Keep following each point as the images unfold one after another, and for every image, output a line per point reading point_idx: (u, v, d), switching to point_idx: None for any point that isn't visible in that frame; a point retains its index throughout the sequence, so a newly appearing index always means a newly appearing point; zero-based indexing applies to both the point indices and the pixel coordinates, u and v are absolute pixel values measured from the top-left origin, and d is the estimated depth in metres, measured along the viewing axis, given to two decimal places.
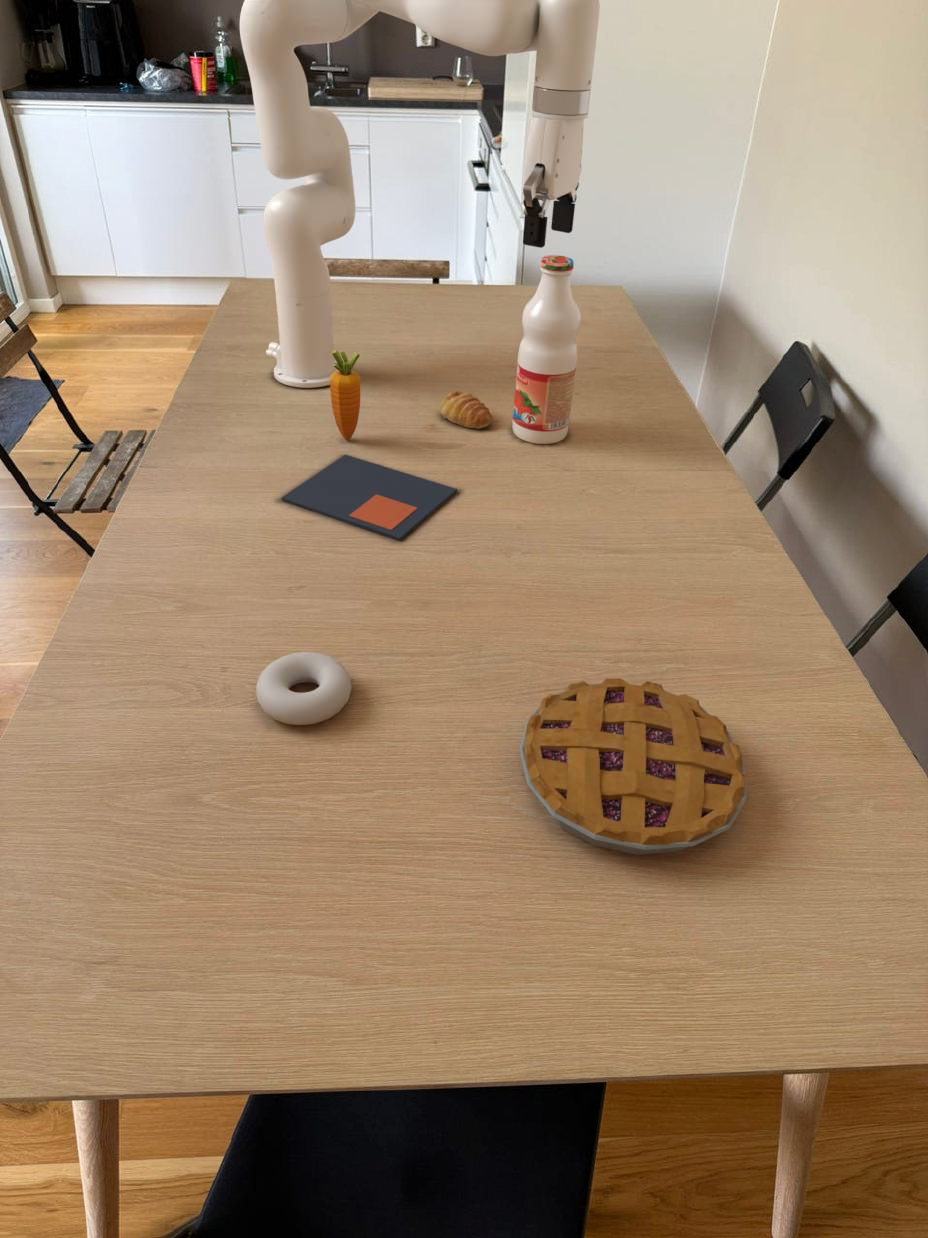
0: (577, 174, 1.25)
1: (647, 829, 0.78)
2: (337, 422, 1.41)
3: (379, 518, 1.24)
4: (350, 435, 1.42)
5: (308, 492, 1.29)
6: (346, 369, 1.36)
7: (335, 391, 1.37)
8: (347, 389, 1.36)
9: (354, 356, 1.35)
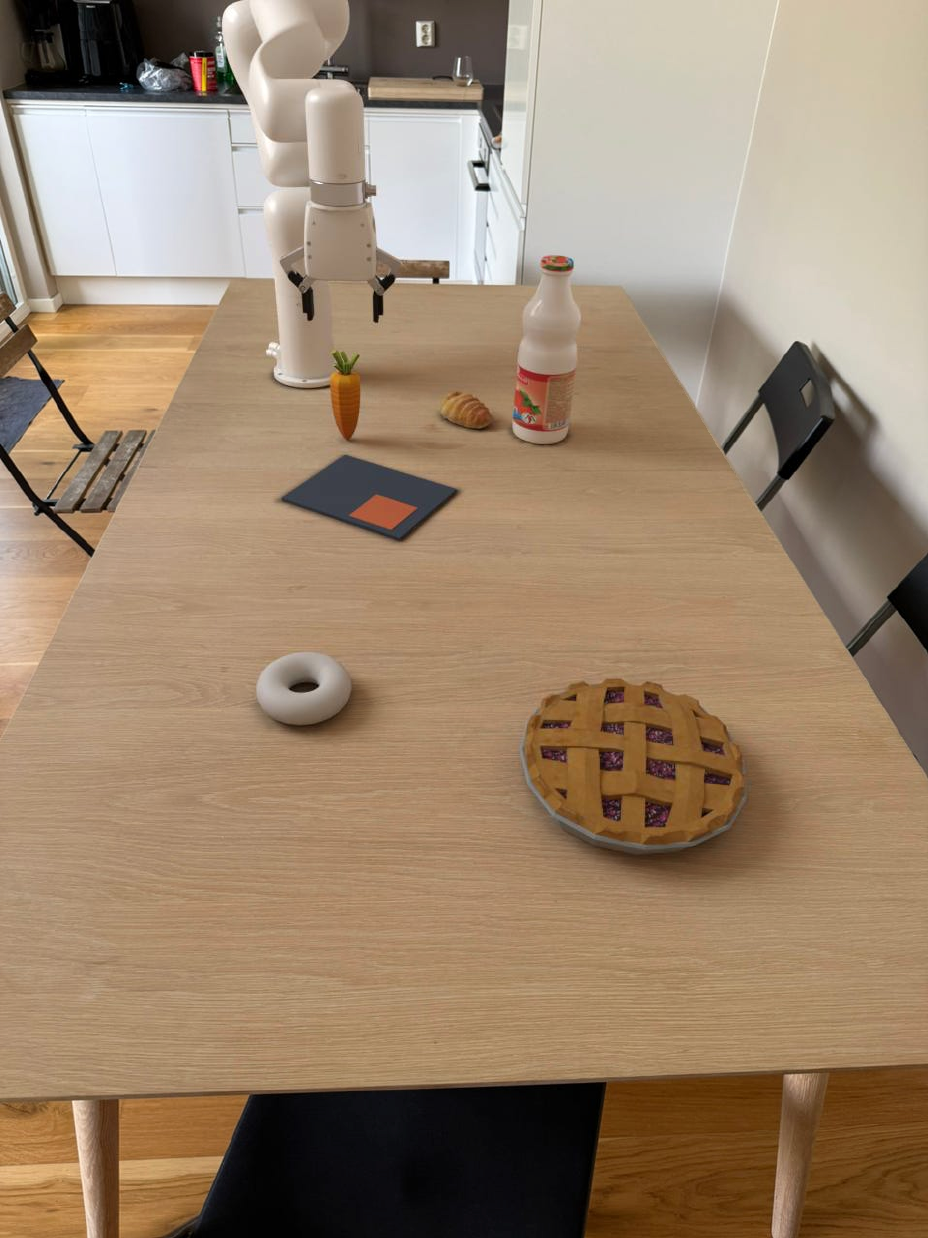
0: (363, 266, 1.25)
1: (647, 829, 0.78)
2: (337, 422, 1.41)
3: (379, 518, 1.24)
4: (350, 435, 1.42)
5: (308, 492, 1.29)
6: (346, 369, 1.36)
7: (334, 391, 1.37)
8: (347, 389, 1.36)
9: (354, 356, 1.35)
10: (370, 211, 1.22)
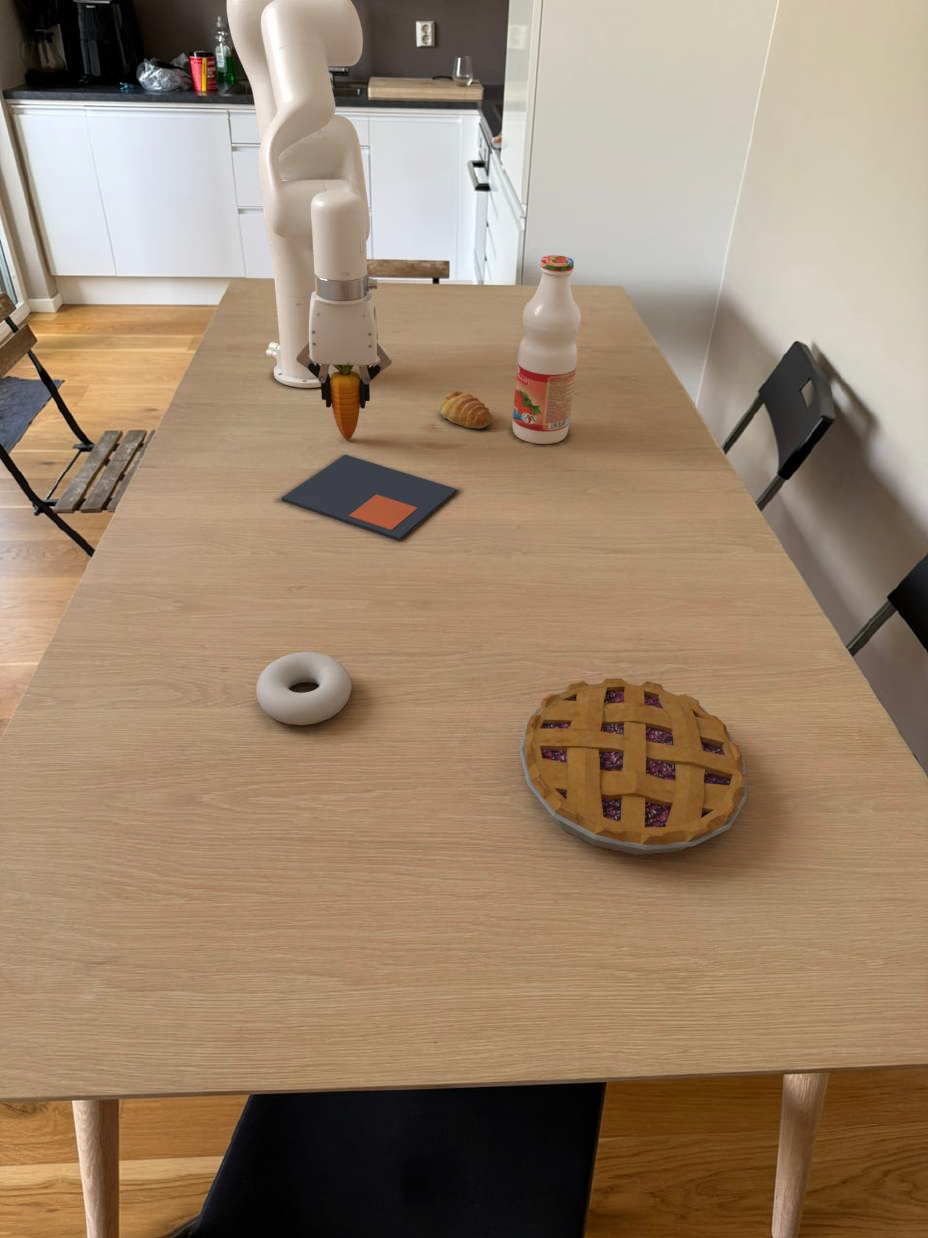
0: (364, 352, 1.33)
1: (647, 829, 0.78)
2: (337, 422, 1.41)
3: (379, 518, 1.24)
4: (350, 435, 1.42)
5: (308, 492, 1.29)
6: (346, 369, 1.36)
7: (334, 391, 1.37)
8: (347, 389, 1.36)
9: None
10: (371, 303, 1.30)
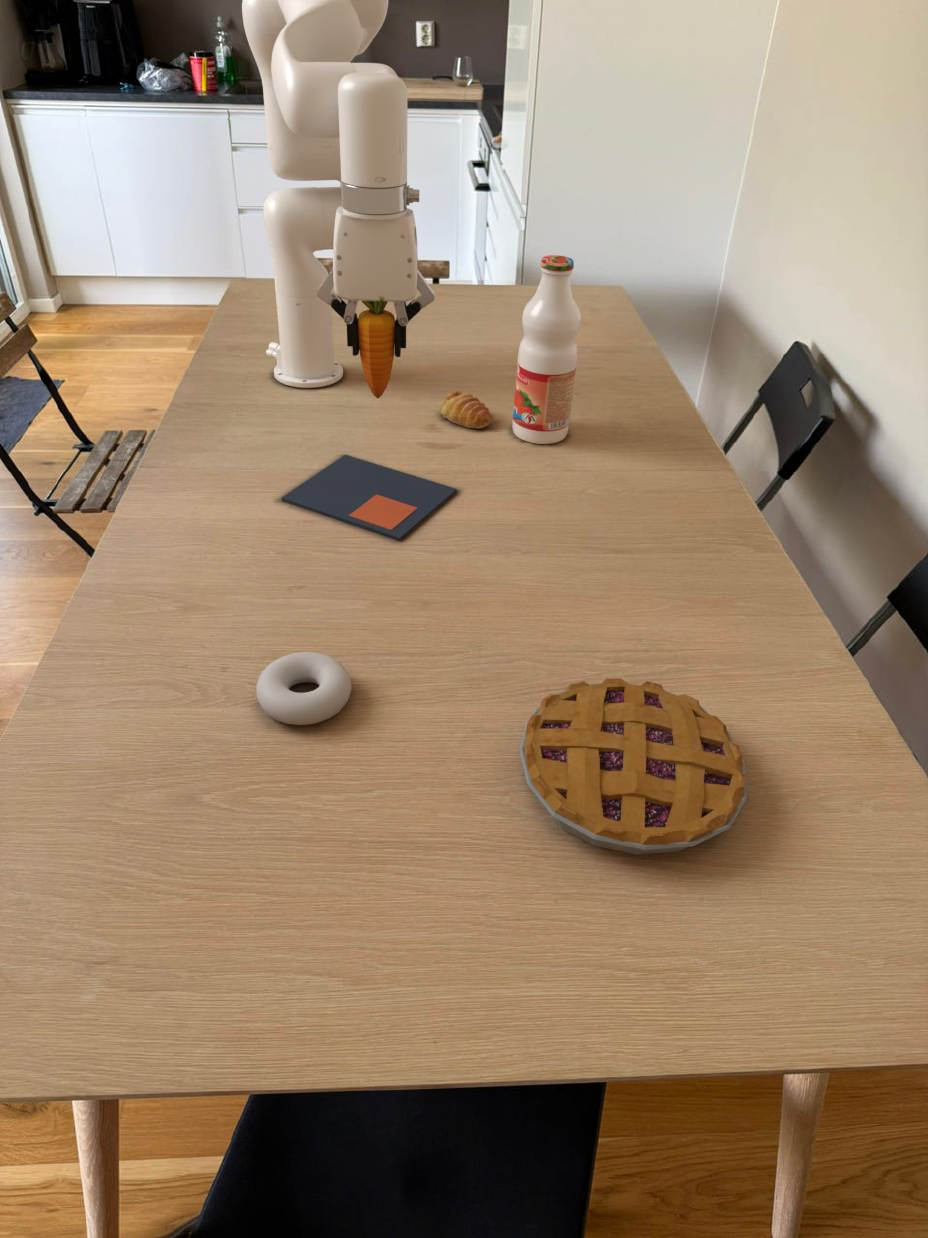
0: (402, 284, 1.06)
1: (647, 829, 0.78)
2: (366, 374, 1.14)
3: (379, 518, 1.24)
4: (381, 391, 1.16)
5: (308, 492, 1.29)
6: (378, 306, 1.09)
7: (364, 334, 1.10)
8: (379, 331, 1.10)
9: None
10: (412, 220, 1.03)
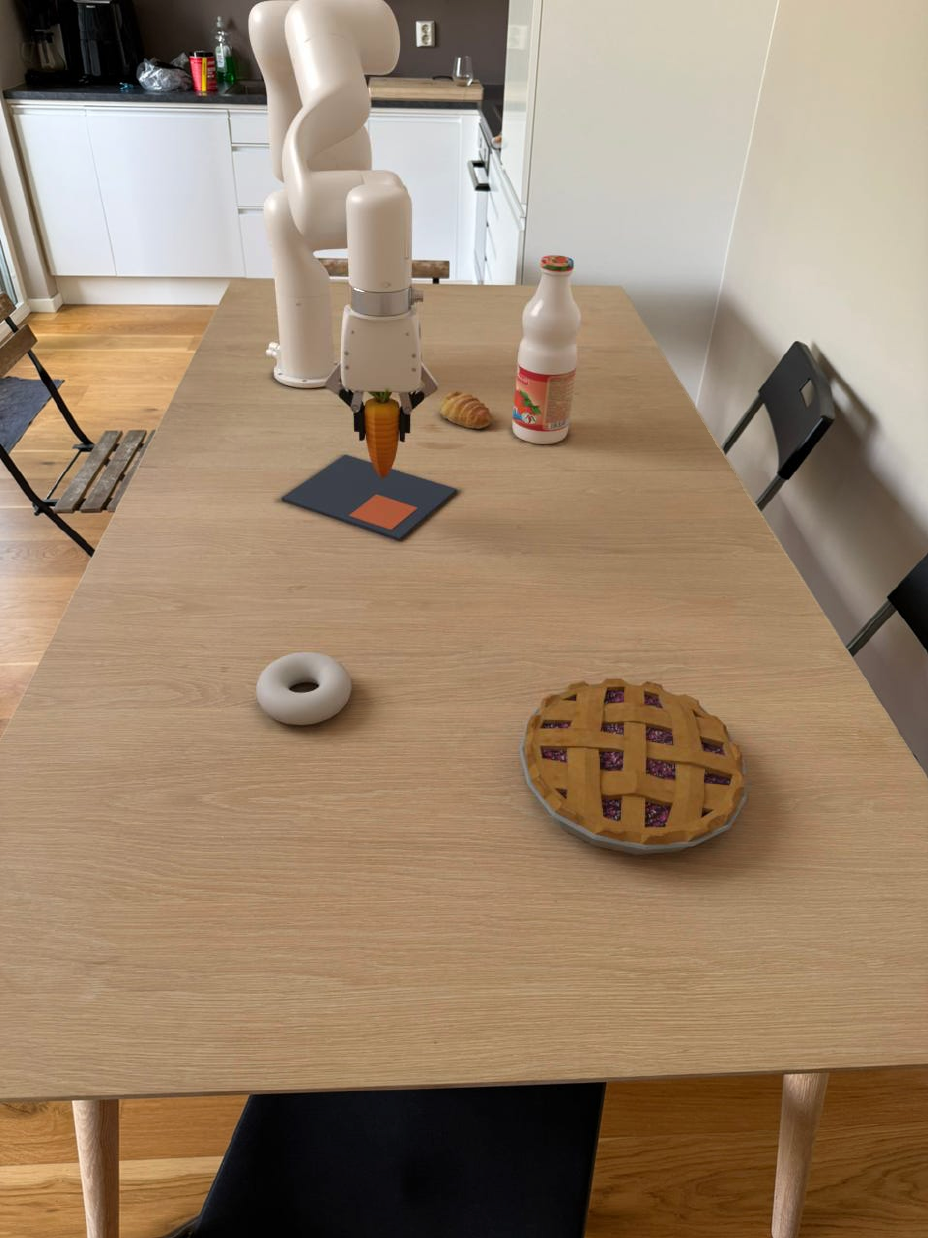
0: (407, 377, 1.11)
1: (647, 829, 0.78)
2: (372, 457, 1.19)
3: (379, 518, 1.24)
4: (386, 472, 1.21)
5: (308, 492, 1.29)
6: (384, 396, 1.14)
7: (370, 422, 1.15)
8: (385, 420, 1.15)
9: None
10: (416, 318, 1.08)
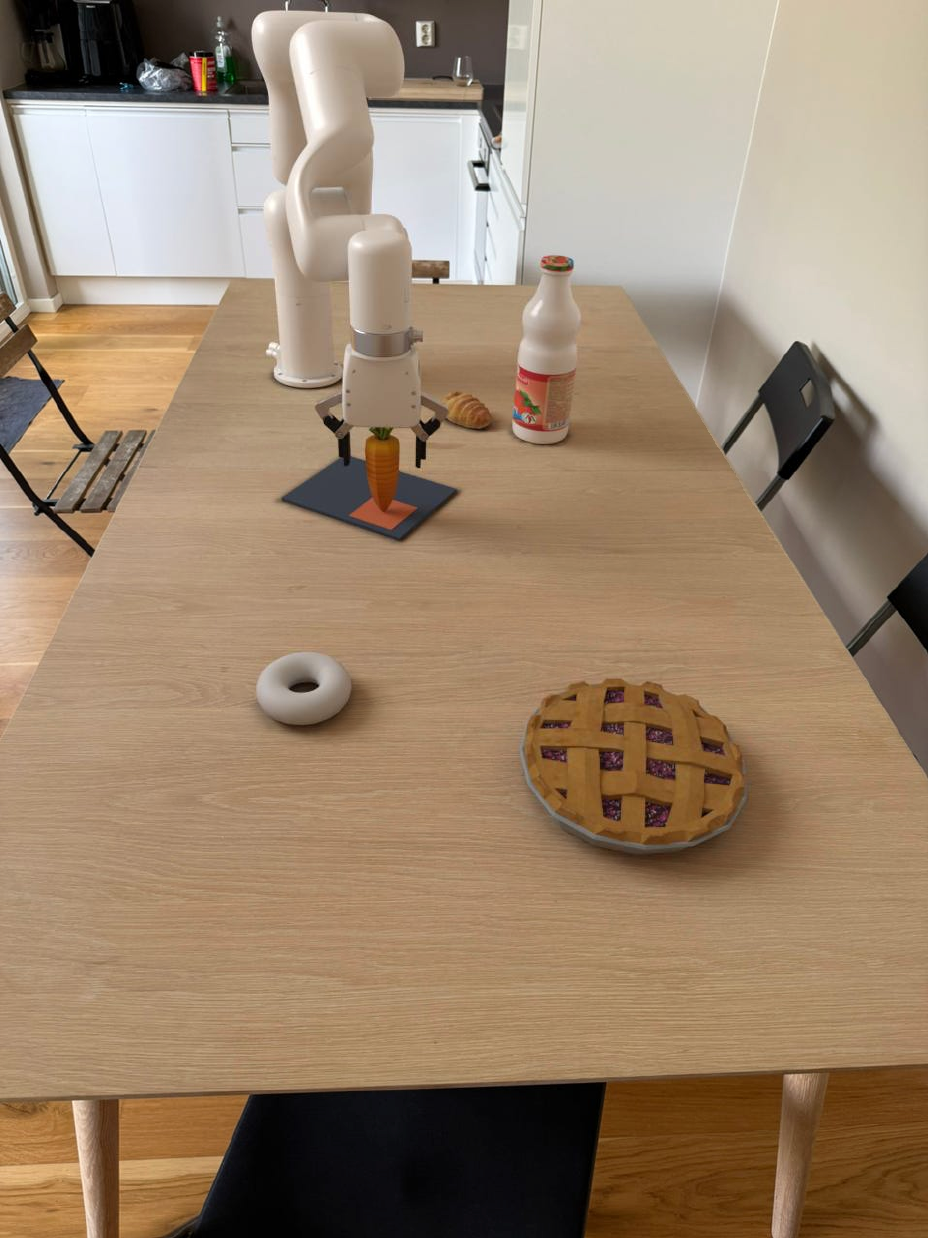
0: (406, 413, 1.14)
1: (647, 829, 0.78)
2: (372, 492, 1.22)
3: (379, 518, 1.24)
4: (387, 506, 1.24)
5: (308, 492, 1.29)
6: (384, 434, 1.17)
7: (370, 459, 1.19)
8: (385, 457, 1.18)
9: None
10: (416, 358, 1.11)
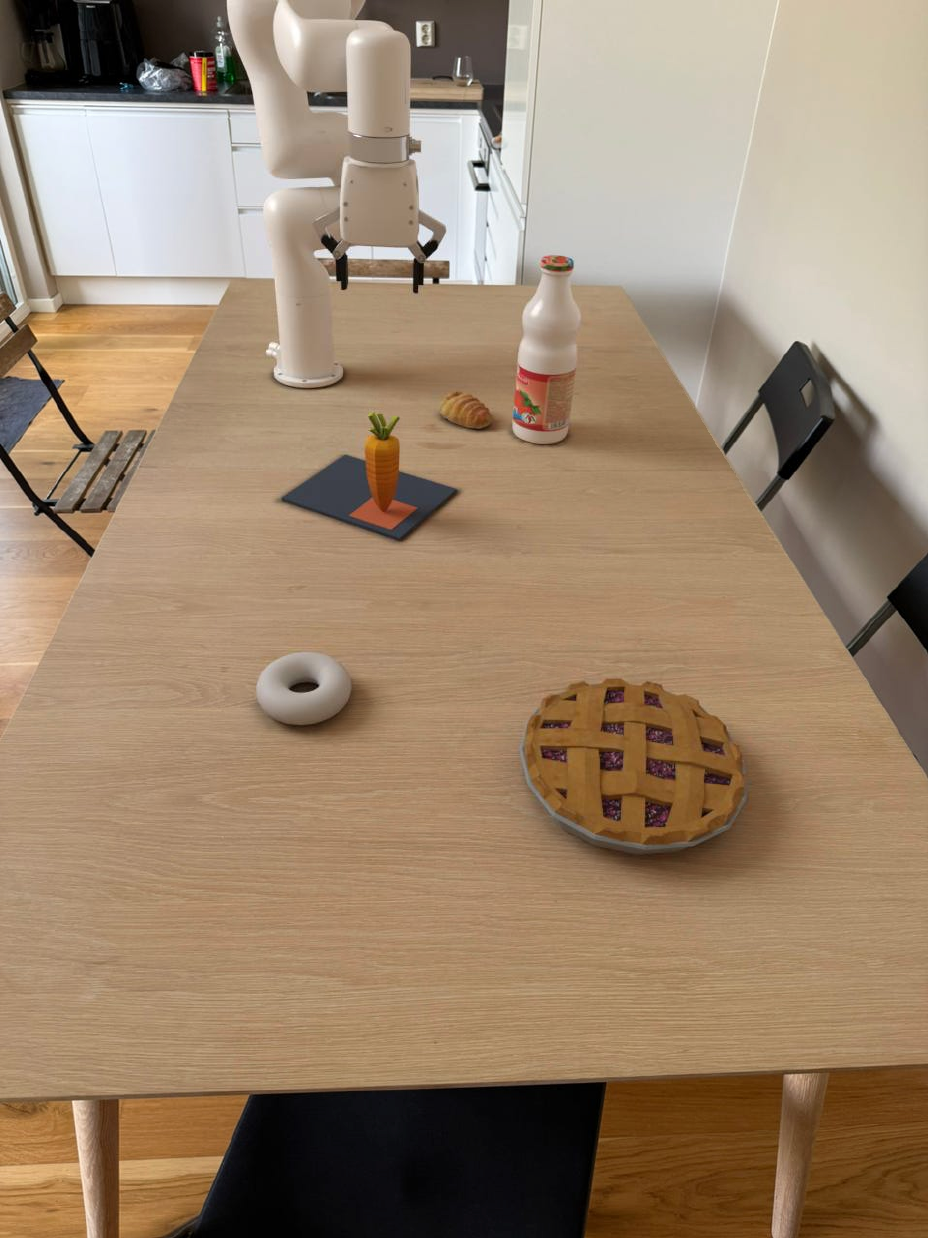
0: (404, 230, 1.14)
1: (647, 829, 0.78)
2: (372, 492, 1.22)
3: (379, 518, 1.24)
4: (387, 506, 1.24)
5: (308, 492, 1.29)
6: (384, 434, 1.17)
7: (370, 459, 1.19)
8: (385, 457, 1.18)
9: (393, 419, 1.17)
10: (414, 169, 1.11)
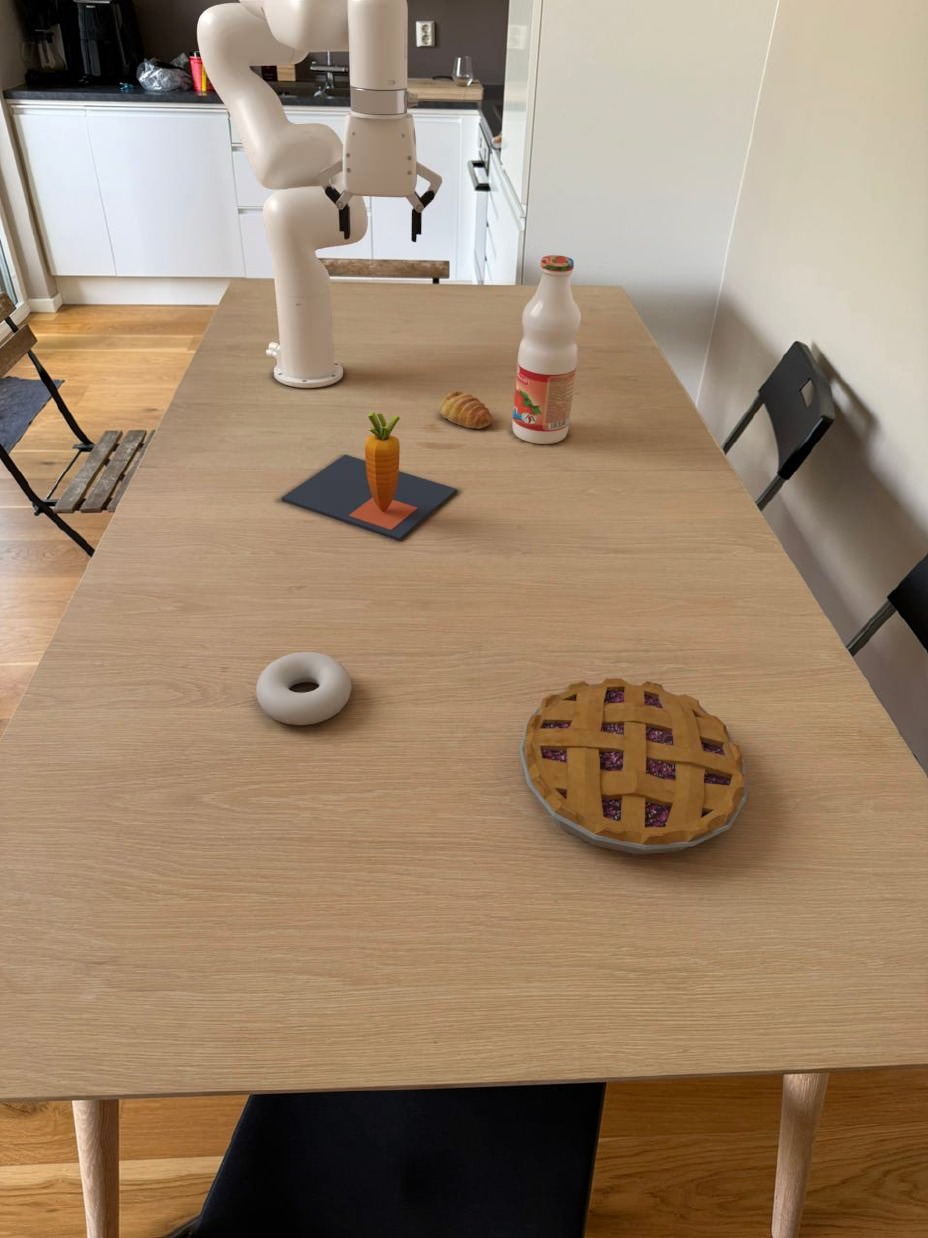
0: (403, 180, 1.22)
1: (647, 829, 0.78)
2: (372, 492, 1.22)
3: (379, 518, 1.24)
4: (387, 506, 1.24)
5: (308, 492, 1.29)
6: (384, 434, 1.17)
7: (370, 459, 1.19)
8: (385, 457, 1.18)
9: (393, 419, 1.17)
10: (411, 122, 1.19)
